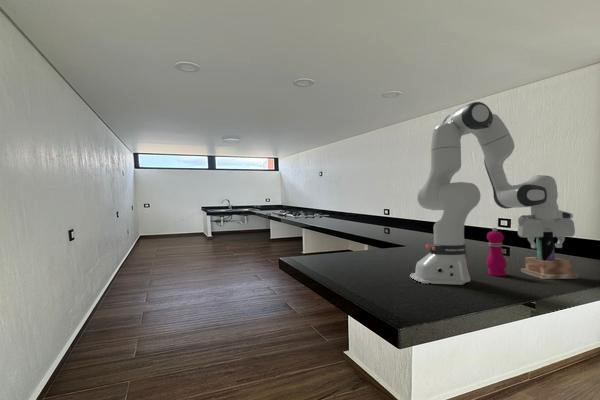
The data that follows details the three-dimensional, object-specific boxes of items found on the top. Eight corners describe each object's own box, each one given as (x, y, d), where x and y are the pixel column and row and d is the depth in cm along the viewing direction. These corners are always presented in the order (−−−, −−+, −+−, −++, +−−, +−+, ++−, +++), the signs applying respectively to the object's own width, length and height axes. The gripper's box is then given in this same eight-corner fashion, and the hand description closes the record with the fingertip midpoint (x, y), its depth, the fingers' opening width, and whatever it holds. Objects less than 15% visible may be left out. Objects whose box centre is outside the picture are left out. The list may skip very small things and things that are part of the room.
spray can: (551, 273, 118) (548, 223, 118) (535, 270, 122) (532, 222, 123) (558, 271, 120) (554, 222, 121) (542, 269, 125) (539, 222, 126)
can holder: (543, 278, 115) (542, 262, 115) (520, 271, 128) (520, 256, 128) (578, 278, 114) (577, 261, 114) (552, 271, 127) (551, 256, 127)
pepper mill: (501, 272, 128) (498, 226, 128) (511, 276, 121) (508, 227, 121) (483, 272, 128) (481, 227, 129) (492, 276, 121) (490, 228, 122)
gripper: (523, 215, 119) (525, 249, 119) (577, 214, 118) (579, 248, 117) (513, 215, 126) (515, 247, 125) (564, 213, 124) (566, 246, 124)
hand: (546, 248), depth 121 cm, fingers open, 8 cm apart
